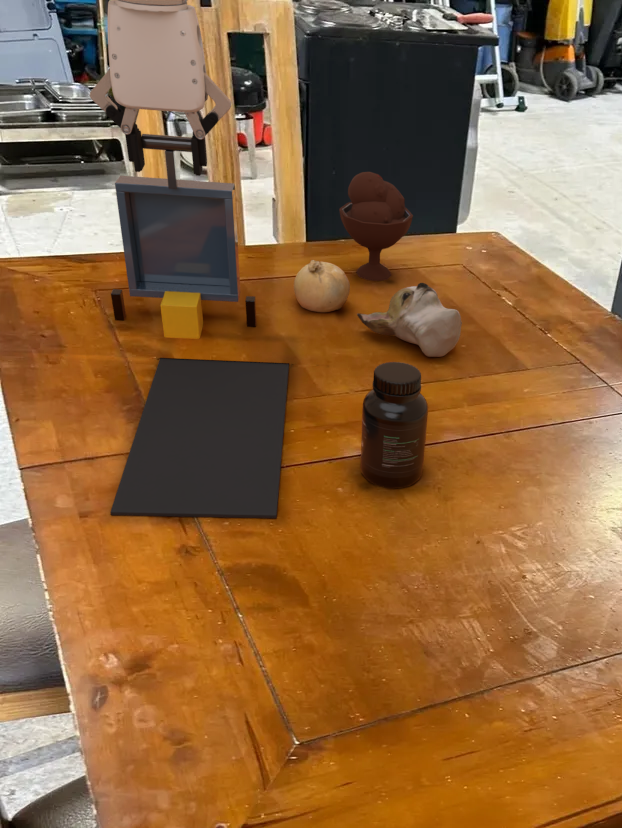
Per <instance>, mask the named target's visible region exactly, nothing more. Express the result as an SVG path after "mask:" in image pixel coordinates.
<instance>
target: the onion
mask: <svg viewBox="0 0 622 828" xmlns="http://www.w3.org/2000/svg"><path fill="white" fill-rule="evenodd" d="M293 280H294V281H293V292H294V296H295V298H296V301H297V302H298V304H299V305H300V307H301V308H303V309H306V310H307V311H310V312H315V313H316V312H317V313H330V312H333V311H338V310H341V309H342V307H343V306H344V305H345V303H346V302H347V299H348V298H349V294H350V293H351V292H350V291H351V285H350V281H349V278H348V276H347V275H346V273H345V271H344V270H343V269H342V268H340V267H339V266H337V264H334V263H331V262H327V261H320V260H314V259H311V260H310V262H308V264H307V263H306V264H305V265H304V266H303V267H302V268H300V270H299V271H298V272H297V274H296V275H295V277H294V279H293Z"/></svg>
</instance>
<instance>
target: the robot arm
mask: <svg viewBox="0 0 622 828" xmlns="http://www.w3.org/2000/svg"><path fill="white" fill-rule="evenodd" d="M107 47H108V50H107V51H108V63H109V69H108V70H107V72H106V73H105V74H104V75H103V76H102V77H101V78H100V80H99V81H98V82H97V83H96V85H95V86H94V87H93V88H92V89H91V90H90V92H89V98H90V100H91V101H92V102H94V103H95V104H96V105H97V106H98V107H99V108H100V109H101V111H103V112H105V113H106V116H107V117H108V118H109V119H110V120H111V121H112V122H113V123H114V124H115V125H117V127H118V128H120V131H121V132H122V134H124V136H125V143H126V151H127V158H128V162H130V163H133V166H134V168H133V169H134V172H135V173H141V172H142V171H143V170H144V167H145V165H146V161H145V152H144V148H143V146H142V131H141V130H140V128H139V126H138V124H137V121H138V120H137V119H138V116H139V113H140V110H146V111H159V112H174V113H183V114H184V115H185V117H186V119H187V121H188V124H189V125H190V128H191V130H192V136H191V137H192V138H191V149H192V152H191V159H192V168H193V169H192V170H193V175H195V176H199V177H201V176H202V172H203V169H204V168H203V167H207V166H208V154H207V143H206V136H207V135H208V134H209V133H210V132H211V130H213V129H214V127H216V125H217V124H218V123H219V121H220V120H221V119H222V118H224V116H225V115H226V114H227V113H228V112H229V110H231V107H232V103H233V102H232V101H231V100H232V99H230V98H229V97H228V96H227V95H226V93H225V92H224V91H223V90H221V87H219V86H218V85H217V84H216V83H215V81H213V79H212V78H211V77H210V76H209V75H208V74H207V67H206V57H205V51H204V43H203V37H202V32H201V27H200V23H199V18H198V14H197V10H196V7H195V6H194V5H190V4H188V0H108V2H107ZM110 90H112V91H111V92H112V95H113V98H114V101H115V102H116V103H115V102H113V100H112V99H111V98H110V97H109V95H108V92H109V91H110ZM209 97H210V99H211V100H212V101H213V102H214V104H215V105H214V107H212V109H211V110H209V112H208V113H207V114H206V115H205V116H203V114H202V112H201V111H202V110H203V109H204V107H205V103H206V102H207V101H208V99H209ZM118 104H119V105H120V106H122V107H124V110H123V109H122V108H121V107H120V106H119V105H118Z"/></svg>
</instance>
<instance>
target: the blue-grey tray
mask: <svg viewBox="0 0 622 828" xmlns="http://www.w3.org/2000/svg"><path fill="white" fill-rule="evenodd" d="M141 136H142V146H143V150H155V151H164V156H165V166H166V167H165V169H166V177H167V178H162V177H149V176H133V175H119V177H118V178H116V179H117V180H116V181H115V182H114V188H115V197H116V205H117V210H118V218H119V225H120V233H121V241H122V249H123V255H124V262H125V269H126V278H127V284H128V292H129V297H133V298H134V297H137V298H152V299H153V298H156V299H163V296H164V294H165V291H173V292H191V293H201V301H212V302H229V303H231V302H232V303H233V302H234V303H239V301H240V296H241V277H240V276H241V275H240V260H239V259H240V258H239V257H240V255H239V241H238V240H239V239H238V223H237V206H236V192H235V191H236V189H235V188H236V186H235V185H236V184H235V183H234V182H233V183H231V182H220V181H205V180H191V179H178V174H177V173H178V172H177V163H176V153H175V152H181V153H182V152H183V153H192V149H191V138H192V136H178V135H168V134H167V135H166V134H151V133H141Z"/></svg>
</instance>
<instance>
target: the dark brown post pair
mask: <svg viewBox="0 0 622 828" xmlns="http://www.w3.org/2000/svg"><path fill="white" fill-rule="evenodd" d="M110 298H111V303H112V310H113V316H114V321H119V322H124V321H125V320H126V317H127V313H126V306H125V299H124V292H123V289H119V288H113V289H112V290H111V293H110ZM245 316H246V318H245V319H246V327H247V328H256V327H257V322H258V321H257V303H256V296H254V295H253V296H250V295H246V296H245Z"/></svg>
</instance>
